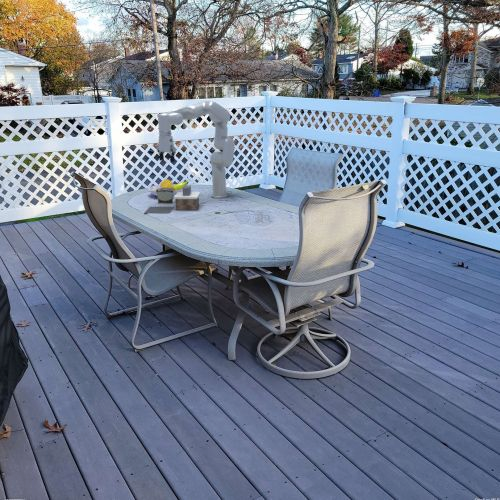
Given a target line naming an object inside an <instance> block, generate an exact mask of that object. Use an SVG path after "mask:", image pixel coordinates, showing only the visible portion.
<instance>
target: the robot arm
mask: <svg viewBox="0 0 500 500" xmlns="http://www.w3.org/2000/svg"><path fill="white" fill-rule="evenodd" d="M205 115H207V116H209V120H211V122H212V123H213V125H214V126H215V127H214V128H215V132H214V140H213V147H214V148H215V149H216V150H219V151H213V152H212V153H211V155H210V157H209V159H210V160H209V161H210V166H211V178H212V193H211V194H210V197H211V198H213V199H223V198H224V199H225V198H227V197H229V195H232V194H233V191H231V190H227V185H226V184H227V183H226V181H227V179H226V177H227V176H226V175H227V173H226V168H228V167H231V166H232V164H233V163H234V162H233V161H234V155H235V146H236V143H235V140H234V139H233V138H232V137H231V136H228V131H229V130H228V128H229V127H228V125H227V123H228V122H229V121H230V119H231V113H230V111H229V110H228V109H227V108H225V107H224V106H222V105H220V104H219V103H217V102H216V101H212V100H210V101H209V100H203V101H201V102H197V103H195V104H192V105H188V106H184V107H180V108H175V109H173V110H170V111H167V112H162V113H159V114H157V118H158V119H157V121H158V123H157V124H158V135H159V136H158V145H157V146H156V147H155V148H156V152H157V153H158V156H159V157H158V158H159V161H160V162H161V161H164V160H165V156H164V153H169V162H170V163H174V162H175V155H176V152H177V148H176V147H175V144H174V143H175V142H174V138H173V136H172V135H173V134H172V129H171V128H172V126H173V125H174V126H178V125H181V124H183V122H184V120H185V121H186V120H187V121H188V120H195V119H198V118H200V117H203V116H205Z"/></svg>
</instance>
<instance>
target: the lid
mask: <svg viewBox="0 0 500 500" xmlns="http://www.w3.org/2000/svg"><path fill="white" fill-rule="evenodd" d="M200 195H201V191H192V185H185V186H184V187H183V192H177V193H176V195H175V196H174V197H173V200H175V199H197V198H198V197H199V198H200Z"/></svg>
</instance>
